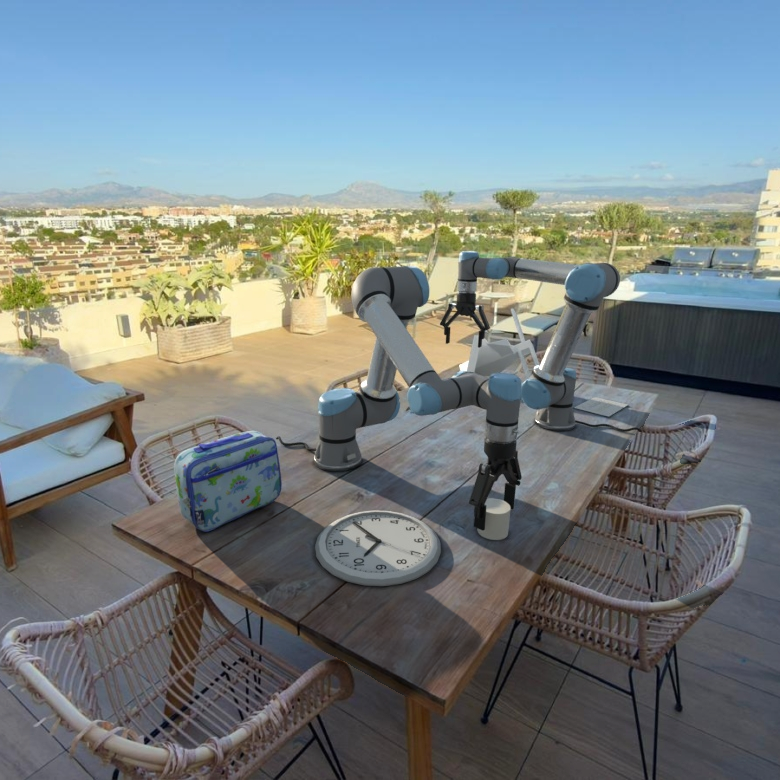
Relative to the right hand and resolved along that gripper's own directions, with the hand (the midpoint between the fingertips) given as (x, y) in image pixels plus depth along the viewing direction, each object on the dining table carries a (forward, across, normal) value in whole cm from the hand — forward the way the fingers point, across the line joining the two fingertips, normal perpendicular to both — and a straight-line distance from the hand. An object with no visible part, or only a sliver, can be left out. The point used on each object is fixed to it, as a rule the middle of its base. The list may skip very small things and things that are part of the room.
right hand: (463, 345), depth 212 cm
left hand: (+24, +38, -84) cm, 95 cm away
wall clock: (+28, +15, -103) cm, 108 cm away
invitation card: (+28, +53, +33) cm, 68 cm away
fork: (+28, -19, -6) cm, 34 cm away
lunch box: (+28, -26, -108) cm, 114 cm away
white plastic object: (+28, +5, +42) cm, 50 cm away
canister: (+28, +38, -84) cm, 96 cm away
